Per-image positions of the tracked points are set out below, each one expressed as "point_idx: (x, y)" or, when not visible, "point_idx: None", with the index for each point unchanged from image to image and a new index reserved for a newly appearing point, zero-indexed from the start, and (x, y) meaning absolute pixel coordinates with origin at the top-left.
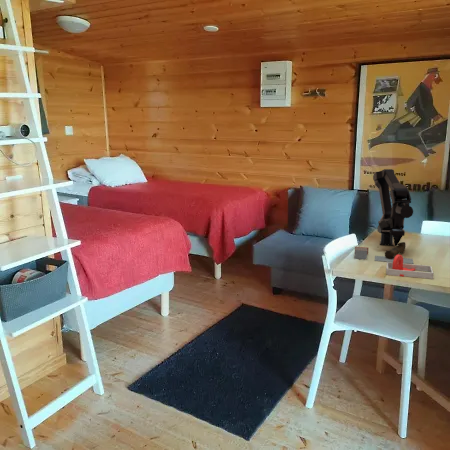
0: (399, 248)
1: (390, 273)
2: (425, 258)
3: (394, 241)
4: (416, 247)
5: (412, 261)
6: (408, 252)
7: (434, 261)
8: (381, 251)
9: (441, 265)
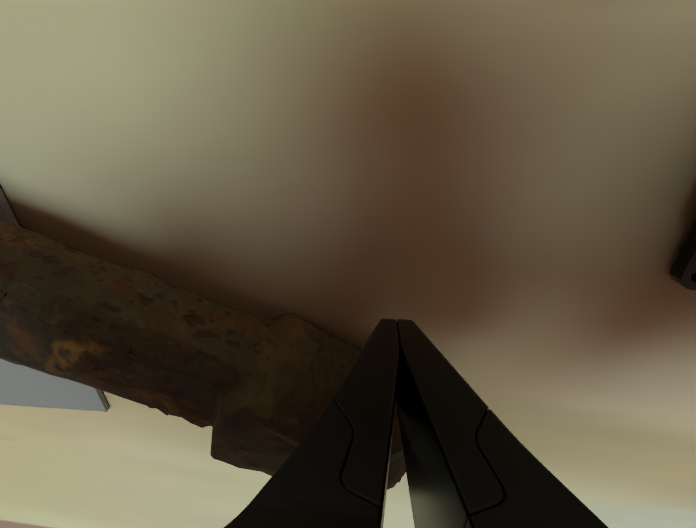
0: (84, 383)
1: None
2: (195, 480)
3: (344, 382)
4: (585, 480)
5: (9, 400)
6: None
7: (145, 508)
8: (277, 76)
9: (74, 519)
